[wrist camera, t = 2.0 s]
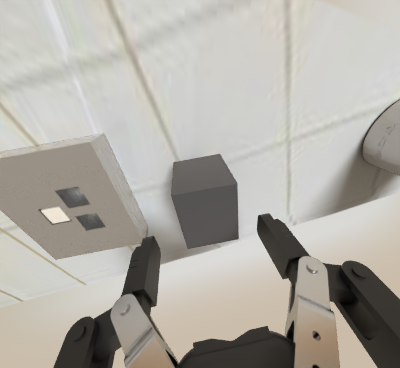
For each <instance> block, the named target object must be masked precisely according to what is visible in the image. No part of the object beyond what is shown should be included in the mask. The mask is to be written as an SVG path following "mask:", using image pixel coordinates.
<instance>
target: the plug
mask: <svg viewBox="0 0 400 368" xmlns="http://www.w3.org/2000/svg"><path fill="white" fill-rule="evenodd" d="M171 196H172V199H173V203H174V206H175V209H176V212H177V215H178V219H179V222H180V225H181V228H182V232H183V235H184V238H185V241H186V245H187V248H188V249H190V248H195V247H200V246H205V245H211V244H216V243H221V242H226V241H231V240H236V239H239V236H238V194H237V182H236V180H235V179H234V177H233V175H232V174H231V172H230V170H229V169H228V167H227V165H226V163H225V162H224V160H223V158H222V157H221V155H220V154H217V155H211V156H206V157H200V158H195V159H190V160H184V161H179V162H174V165H173V179H172V194H171Z"/></svg>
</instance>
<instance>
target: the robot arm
mask: <svg viewBox="0 0 400 368" xmlns="http://www.w3.org/2000/svg"><path fill="white" fill-rule="evenodd" d="M362 152H363V157H364V159H365V160H366V161H367V162H368V163H370V164H372V165H375V166H377V167H379V168H382V169H384V170H387V171H389V172H392V173H394V174H397V175H399V176H400V100H399V101H397V102H396V103H395V104H393V105H392V106H391V107H390V108H388V109H387V110H386V111H385V112H384V113H383V114H382V115H381V116H380V117H379V118H378V120H377V121H376V122H375V123H374V125H373V126H372V127H371V129H370V130H369V132H368V134H367V136H366V138H365V141H364V144H363V151H362ZM257 232H258V235H259V237H260V239H261V241H262V243H263V244H264V246H265V248H266V250H267V252H268V253H269V255H270V257H271V259H272V261H273V262H274V264H275V266H276V268H277V270H278V272H279V273H280V275H281V277H282V279H286V278H289V280H290V282H291V287H290V297H289V307H288V316H287V321H286V327H285V336H283V335H281V334H279V333H276V332H273V331H269V329H268V326H265V327H261V328H256V329H252V330H249V331H247V332H246V333H244V334H243V335H241V336H240V337H238V338H237V339H235V340H233V341H225V340H217V339H208V340H204V341H199V342H195V343H193V347H194V348H193V349H191V350H190V351H189V352H188V353H187V354H186V355H185V356H184V357H183V358H182V360H181V361H180V362H179V363H178V361H177V359H176V357H175V356H174V354H173V352H172V351H171V349H170V348H169V347H168V345H167V343H166V342H165V340H164V339H163V337H162V335H161V333H160V331H159V330H158V328H157V326H156V325H155V323H154V321H153V320H152V318H151V316H150V312H151V307H154V306H156V304H157V293H158V281H159V269H160V258H161V253H160V248H159V246H158V244H157V241H156V239H155V237H154V236H151V237H146V238H143V240H142V244H141V246H139V247H136V249H135V250H134V252H133V254H132V257H131V261H130V265H129V269H128V272H127V276H126V280H125V284H124V288H123V292H122V295H121V297H120V298H119V299H118V300H117V301H116V303H115V304H114V306H113V307H112V308H111V309H110V310H108V311H106V312H105V313H103V314H101V315H99V316H98V317H96V318H94V319H93V318H91V317H84V318H82V319H80V320H79V321H77V322H76V323H75V324H74V325H73V326H72V327H71V329H70V330H69V331H68V333H67V335H66V337H65V340H64V342H63V345H62V347H61V350H60V352H59V355H58V357H57V360H56V363H55V365H54V368H112V365H113V360H114V355H115V351H116V350H117V349H119V348H120V347H122V348H123V351H124V354H125V359H124V363H125V367H126V368H340V362H339V351H338V342H337V330H336V320H335V315H334V312H333V311H331V309H330V301H331V302H334V303H335V304H336V306H337V308H338V309H339V310H340V312H341V314H342V315H343V317H344V318H345V320H346V321H347V323H348V324H349V326H350V327H351V329H352V330H353V332H354V333H355V334H356V336H357V338H358V339H359V340H360V342H361V343H362V345H363V346H364V348H365V349H366V351H367V352H368V354H369V355H370V357H371V358H372V360H373V361H374V363H375V364H376V366H377V367H378V368H400V299H399V298H398V297H397V296H396V295H395V294H394V293H393V292H392V291H391V290H390V289H389V288H388V287H387V286H386V285H385V284H384V283H383V282H382V281H381V280H380V279H379V278H378V277H377V276H376V275H375V274H374V273H373V272H372V271H371V270H370V269H369V268H368V267H366V266H364V265H363V264H360V263H358V262H355V261H346V262H344V263H343V265H342V266H341V265H332V264H325V263H322V262H320V261H319V260H318V259H315V258H313V257H311V256H309V254H308V253H307V252H306V251H305V249H304V248H303V247H302V245H301V244H300V243H299V242H298V240H297V239H296V238H295V236H293V234H292V233H291V231H289V229H288V228H287V226H286V225H285V224H284V223H283V222H281V221H280V220H278V219H275V220H274V219H273V218H272V216H271V215H270V214H269V213H268V214H263V215H259V216H258V223H257Z"/></svg>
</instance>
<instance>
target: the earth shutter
mask: <svg viewBox="0 0 400 368" xmlns="http://www.w3.org/2000/svg"><path fill="white" fill-rule="evenodd" d="M41 212H42V213H43V214H44V215H45V216H46V217H47V218H48V219H49V220H50V221H51V222H52V223H59V222H64V221H69V220H71V218H70V217H69V216H68V215H67V214H66V212H65V211H64V210H63V209H62V207H61V206H60V205H59V206H54V207H49V208H43V209H42V210H41Z"/></svg>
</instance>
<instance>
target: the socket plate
mask: <svg viewBox="0 0 400 368" xmlns="http://www.w3.org/2000/svg"><path fill="white" fill-rule="evenodd" d="M59 205H60V206H61V207H62V209H63V210H64V211H65V212H66V214H67V215H68V216H69V217H70V218H71V220H69V221H64V222H59V223H52V222H51V221H50V220H49V219H48V218H47V217H46V216H45V215H44V214H43V213H42V212H41V210H42V209H43V208H49V207H54V206H59ZM0 210H1V211H2V212H3V213H4V214H5V215H6V216H8V217H9V218H10V219H11V220H12V221H13V222H14V223H15V224H17V225H18V226H19V227H20V228H21V229H22V230H23V231H24V232H25V233H27V234H28V235H29V236H30V237H31V238H32V239H33V240H34V241H36V242H37V243H38V244H39V245H40V246H41V247H42V248H43V249H44V250H46V251H47V252H48V253H49V254H50V255H51V256H52V257H53V258H54V259H61V258H67V257H72V256H77V255H82V254H87V253H93V252H98V251H103V250H108V249H114V248H119V247H124V246H129V245H134V244H140V243H142V240H143V238H145V236H146V232H147V227H148V225H147V223H146V221H145V219H144V217H143V215H142V213H141V211H140V208H139V206H138V204H137V202H136V200H135V198H134V196H133V194H132V192H131V189H130V187H129V185H128V183H127V181H126V179H125V177H124V175H123V173H122V170H121V168H120V166H119V164H118V162H117V160H116V158H115V156H114V154H113V151H112V149H111V147H110V145H109V143H108V141H107V139H106V137H105V134H104V133H102V134H97V135H91V136H86V137H80V138H74V139H69V140H63V141H58V142H52V143H47V144H41V145H36V146H30V147H25V148H19V149H13V150H8V151H2V152H0Z"/></svg>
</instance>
